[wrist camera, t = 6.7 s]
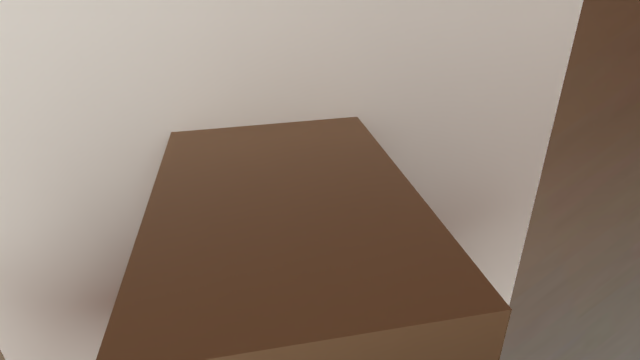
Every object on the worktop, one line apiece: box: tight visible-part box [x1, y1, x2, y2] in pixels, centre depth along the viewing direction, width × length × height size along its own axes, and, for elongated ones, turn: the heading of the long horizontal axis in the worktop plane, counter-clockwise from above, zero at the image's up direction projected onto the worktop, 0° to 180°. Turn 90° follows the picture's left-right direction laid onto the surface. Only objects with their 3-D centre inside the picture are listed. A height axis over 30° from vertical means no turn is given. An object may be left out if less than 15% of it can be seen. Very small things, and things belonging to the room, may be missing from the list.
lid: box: [0, 0, 583, 360], centre depth 9 cm, size 14×15×7 cm
